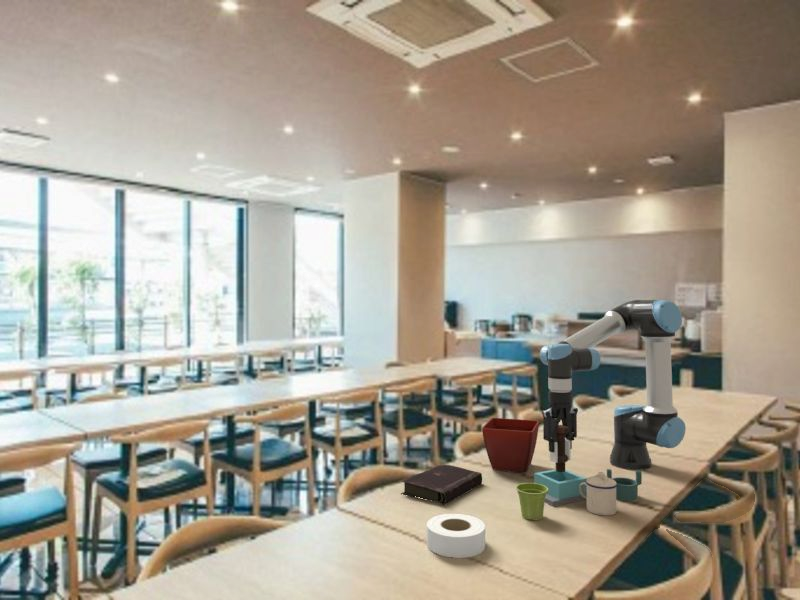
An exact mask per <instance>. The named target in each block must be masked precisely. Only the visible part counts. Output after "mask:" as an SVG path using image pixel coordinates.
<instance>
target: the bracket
mask: <svg viewBox="0 0 800 600" xmlns="http://www.w3.org/2000/svg"><path fill="white" fill-rule="evenodd" d="M612 473H613V471H612V469H611V468H606V476H607V477H608V478H611V479H613V480H615V481H616V483H617V487H616V501H617V500H618V501H620V500H621V502H635V500H636V501H638V499H639V493H638V492H639V490H638V489H639V487H638V486H640V485H642V481H643V480H642V478H643V477H642V470H635V480H634V479H633V478H630V477H623V476H622V477H613V475H612Z"/></svg>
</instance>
